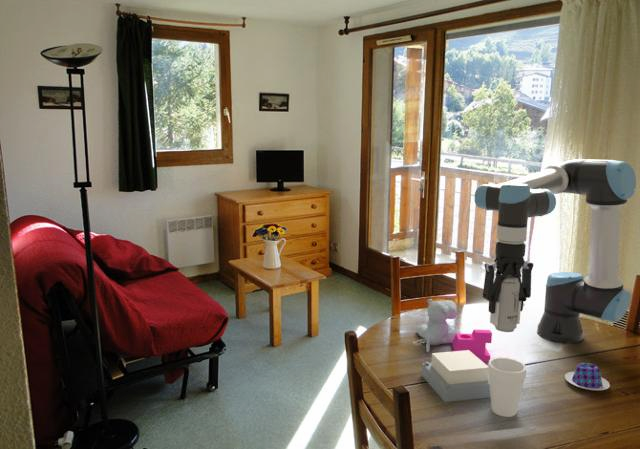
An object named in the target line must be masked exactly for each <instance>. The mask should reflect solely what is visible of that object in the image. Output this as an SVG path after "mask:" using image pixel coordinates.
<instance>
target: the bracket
mask: <svg viewBox="0 0 640 449" xmlns="http://www.w3.org/2000/svg"><path fill="white" fill-rule="evenodd" d="M492 336H493V332H492V330H491V329H473V330H472V333H462V332H460V333H456V335H455V337H454V340H453V342H452V343H451V347H452V351H464V350H469V351H471V352H472V353H473V354H474V355H475V356H476V357H478V358H479V359H480V360H481V361H482V362H484V363H485V364H486V363H488V364H489V360H491V354H490V353H489V351H488V349H487V344H492V340H493V339H492V338H493V337H492Z"/></svg>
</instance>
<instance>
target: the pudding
mask: <svg viewBox="0 0 640 449" xmlns="http://www.w3.org/2000/svg"><path fill="white" fill-rule="evenodd" d="M564 378H565V380H566V381H567V382H568V383H570V384H571V385H573V386H576V387H577V388H581V389H585V390H590V391H604V390H608V389H609V388H610V387H611V384H610V382H609V381H608V380H606V378H605V377H602V374H601V370H600V368H599V367H598V366H597V365H595V364H593V363H587V362H580V363H578V364H577V366H576V368H575V370H574V371H570V372H569V371H568V372H567V373H565V374H564Z"/></svg>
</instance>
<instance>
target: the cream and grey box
mask: <svg viewBox="0 0 640 449" xmlns="http://www.w3.org/2000/svg"><path fill="white" fill-rule="evenodd" d="M421 377H422V378H423V379H424V380H425V381H426V382H427V384H428V385H430V387H431V388H432V390H433V391H434V392H435V393H436V394H437V395H438V396H439V397H440V399H441V400H442V401H443V402H444V403H450V402H460V401H469V400H478V399H488V398H491V395H490V382H489V372H488V365H487V364H486V363H485V362H482V361H481V360H480V359H479V358H478V357H476V356H475V355H474V354H473V353H472V352H471V351H469V350H464V351H454V350H452V351H444V352H443V351H442V352H433V353H431V362H429V361H425V362H424V363H422V366H421Z"/></svg>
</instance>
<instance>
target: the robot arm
mask: <svg viewBox="0 0 640 449" xmlns="http://www.w3.org/2000/svg"><path fill="white" fill-rule="evenodd" d="M636 186H637V177H636V172H635V169H634V167H632V165H631V163H629V162H627V161H623V160H622V161H621V160H615V159H588V158H587V159H586V158H578V159H572V160H566V161H562V162H559V163H555V164H551V165H548V166H547V167H545V168H544V169H543V170H542V171H539V172H538V171H537V172H535V173H532V174H528V175H525V176H522V177H519V178H516V179H512V180H508V181H506V182H501V183H498V184H491V183H490V184H481V185H479V186H478V187H477V188H476V190H475V192H474V203H475V206H477V207H478V208H479V209H481V210H486V211H492V212H493V211H494V212H497V224H496V225H497V227H496V239H497V241H495V250H494V251H495V259H494V261H493V262H490V263H489V262H488V263H487V262H486V263H485V264H484V270H485V274H484V281H483V282H484V284H483V290H482V298H483V299H484V300H487V301H488V312H489V313H490V318H489V323H490V324H491V325H493V326H494V325H495V326H498V317H499V304H500V303H499V302H497V300H498V297H499V294H500V291H501V284H502V282H503V281H504V280H505V279H506V278H507V276H509V275H512V276H514V277H516V278H518V281H519V283H520V289H519V301H518V314H517V325H520V322H521V321H520V320H521V312H522V311H523V309H524V302H526V301H527V298H528V299H529V298H531V295H532V270H533V267H534V263H533V262H530V261H528V260H525V258H524V257H525V255H526V248H527V246H526V243H525V242H526V241H527V237H528V236H527V235H528V232H527V231H528V220H529V218H532V217H533V218H534V217H535V218H536V217H542V216H543V217H544V216H547V215H549V214H551V213H552V212H553V211H554V210H555V208H556V206H557V198H556V196H555V195H558V194H563V193H564V194H574V195H575V194H576V195H583V196H585V203H586V204H587V205H588V206H589V207H590V224H589V225H590V228H589V229H590V232H589V234H590V235H589V264H588V265H589V268H588V270H589V274H588V275H587V276H586V277H584V275H583V274H582V273H581V272H580V273H578V272H574V271H573V272H571V271H569V272H567V271H566V272H565V271H560V272H559V271H558V272H554V273H551V274H549V275H548V276H547V279H546V282H545V283H546V284H545V297H544V309H543V313H542V316H541V318H540V321H539V323H538V324H537V329H536V330H537V331H536V332H537V334H539V336H540V337H541V338H545V339H546V340H550V341H553V342H559V343H566V344H567V343H568V344H570V343H571V344H574V343H578V342H582V341H583V338H584V330H583V327H582V322H581V319H580V315H583V316H584V315H585V316H588V317H592V318H595V319H599V320H601V321H606V322H611V323H616V322H619V321H620V320H621V319H622V318H623V317H624V316H625V314H626V313H627V310H628V308H629V306H630V303H631V293H630V291H629V289H627V288H624V281H623V279H622V278H621V277H619V271H620V269H619V266H620V247H621V246H620V245H621V221H622V220H621V218H622V208H623V207H624V206H625V205H626V204H628V200H629V199H631V198H633V196H634V194H635V190H636V188H637V187H636ZM495 271H496V272H495ZM501 274H502V275H501ZM495 326H494V327H495Z"/></svg>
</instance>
